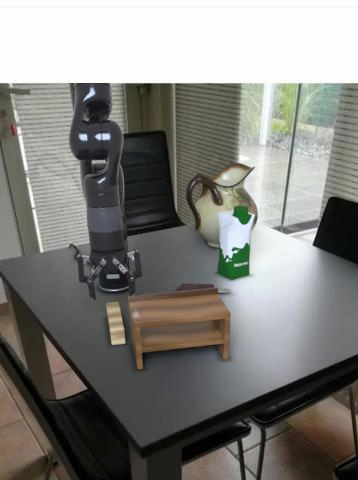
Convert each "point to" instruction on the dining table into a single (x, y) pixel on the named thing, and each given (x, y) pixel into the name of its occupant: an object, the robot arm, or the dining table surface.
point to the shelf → (178, 321)
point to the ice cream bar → (200, 287)
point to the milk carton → (235, 242)
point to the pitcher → (219, 199)
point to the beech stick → (115, 323)
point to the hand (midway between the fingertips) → (112, 296)
